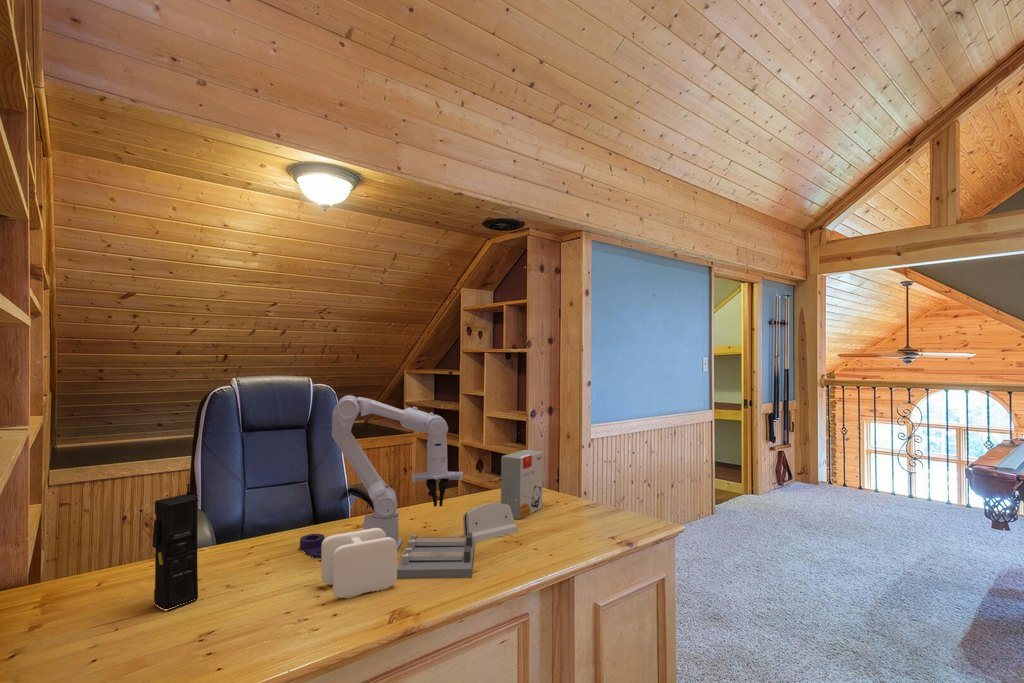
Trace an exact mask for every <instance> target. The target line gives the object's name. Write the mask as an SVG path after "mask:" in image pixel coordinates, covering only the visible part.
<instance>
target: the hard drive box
mask: <svg viewBox="0 0 1024 683" xmlns="http://www.w3.org/2000/svg"><path fill="white" fill-rule="evenodd" d="M543 457H544V456H543V451H538V450H531V449H523V450H519V451H515V452H513V453H509V454H505V455H502V456H501V461H500V462H501V463H500V464H501V468H500V470H501V472H500V476H501V478H500V503H501V504H507V505H509V506H510V508H511V512H512V515H513V518H515V519H516V520H521V519H523V518H525V517H524V516H526V517H527V516H529V515H531V514H533V513H536V512H538V511H540V510H542V509H543V464H544V463H543V462H544V461H543ZM541 508H542V509H541ZM539 509H540V510H539ZM537 510H538V511H537ZM535 511H536V512H535ZM520 518H521V519H520ZM515 519H514V520H515Z"/></svg>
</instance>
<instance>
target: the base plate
mask: <svg viewBox="0 0 1024 683" xmlns="http://www.w3.org/2000/svg"><path fill="white" fill-rule="evenodd" d="M413 537H415V538H419V537H418V534H417V533H416V534H411V535H410V539H409V540H408V542H407V543H408V544H407V546H406V547H405V549H404V552H403V554H402V556H401V559H400V561H399V564H398V565H397V579H436V578H437V579H440V578H441V579H442V578H444V579H445V578H447V579H449V578H450V579H451V578H472V573H473V563H474V555H475V544H476V543H475V537H472V533H467V535H466V537H464V536H448V537H443V536H440V537H432V538H465V545H464V546H415V540H411V539H412V538H413ZM406 551H409V552H463V558H462V560H409V555H405V553H406Z"/></svg>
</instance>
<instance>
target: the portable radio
mask: <svg viewBox="0 0 1024 683" xmlns="http://www.w3.org/2000/svg"><path fill="white" fill-rule="evenodd" d="M190 485H191V483H187V484H186V486H187V491H186V494H180V495H179V494H178V495H175V496H171V497H166V498H161V499H157V500H155V501H154V514H155V519H154V520H153V533H152V544H151V545H152V546H151V547H152V548H154V549H155V556H154V557H155V558H154V560H155V561H154V564H155V566H154V568H155V569H154V590H153V603H154V602H155V604H156V605H158V606H159V607H161V608H163V609H169V608H172V607H175V606H177V605H180V604H183V603H186V602H189V601H191V600H194V599H197V598H198V597H199V590H198V589H199V583H198V580H199V578H198V573H199V572H198V495H194V494H191V491H190ZM197 600H198V599H197ZM194 601H195V600H194ZM189 603H190V602H189ZM155 604H154V605H155ZM186 604H187V603H186Z"/></svg>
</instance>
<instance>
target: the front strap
mask: <svg viewBox="0 0 1024 683" xmlns="http://www.w3.org/2000/svg"><path fill="white" fill-rule="evenodd" d="M405 555H409V560H462V558H463V552H409V551H406V553H405Z"/></svg>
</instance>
